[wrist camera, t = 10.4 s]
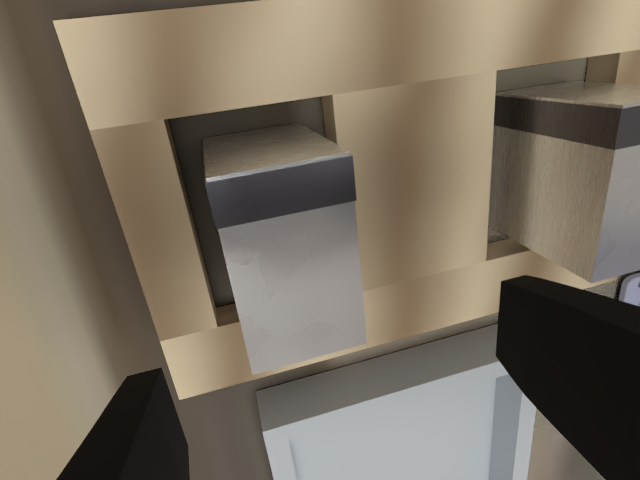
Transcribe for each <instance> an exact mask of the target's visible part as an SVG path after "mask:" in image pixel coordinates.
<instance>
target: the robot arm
mask: <svg viewBox="0 0 640 480" xmlns="http://www.w3.org/2000/svg"><path fill="white" fill-rule="evenodd" d="M495 356H496V357H497V359H498V360H499V361H500V363H501V364H502V366H503V367H504V368H505V370H506V371H507V373H508V374H509V375H510V377H511V378H512V379H513V381H514V382H515V383H516V385H517V386H518V387H519V388H520V390H521V391H522V392H523V394H524V395H525V396H526V397H527V398H528V399H529V400H530V401H531V402H532V403H533V405H534V406H535V407H536V408H537V409H538V410H539V411H540V412H541V413H542V414H543V415H544V416H545V417H546V418H547V419H548V420H549V421H550V423H551V424H552V425H553V426H554V427H555V428H556V429H557V430H558V431H559V432H560V433H561V434H562V435H563V436H564V437H565V438H566V439H567V440H568V441H569V442H570V443H571V444H572V445H573V446H574V447H575V448H576V449H577V450H578V452H579V453H580V454H581V455H582V456H583V457H584V458H585V459H586V460H587V461H588V462H589V463H590V464H591V465H592V466H593V467H594V468H595V469H596V470H597V471H598V472H599V473H600V474H601V475H602V476H603V477H604V478H605V479H606V480H640V273H637V274H633V275H630V276H628V277H626V278H625V279H624V280H623V282H622V285H621V290H620V295H619V299H618V300H616V299H613V298H609V297H606V296H602V295H599V294H596V293H592V292H589V291H585V290H582V289H579V288H575V287H572V286H568V285H565V284H561V283H558V282H554V281H550V280H546V279H542V278H538V277H533V276H528V275H523V276H519V277H515V278H511V279H507V280H503V281H501V288H500V301H499V315H498V328H497V342H496V355H495ZM56 480H190V477H189V456H188V444H187V441H186V438H185V435H184V433H183V430H182V427H181V424H180V421H179V418H178V415H177V412H176V409H175V406H174V403H173V400H172V397H171V394H170V391H169V388H168V385H167V383H166V380H165V377H164V374H163V371H162V368H158V369H154V370H150V371H146V372H142V373H138V374H134V375H131V376H127V377H126V379H125V380H124V382H123V383H122V385H121V386H120V387H119V389H118V390H117V392H116V393H115V395H114V396H113V398H112V399H111V401H110V402H109V404H108V405H107V407H106V408H105V410H104V411H103V413H102V414H101V416H100V417H99V419H98V420H97V422H96V423H95V425H94V426H93V427H92V429H91V430H90V432H89V433H88V435H87V436H86V438H85V439H84V441H83V442H82V444H81V445H80V447H79V448H78V449H77V451H76V452H75V454H74V455H73V457H72V458H71V459H70V461H69V462H68V464H67V465H66V467H65V468H64V469H63V471H62V472H61V474H60V475H59V477H58V478H57V479H56Z"/></svg>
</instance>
